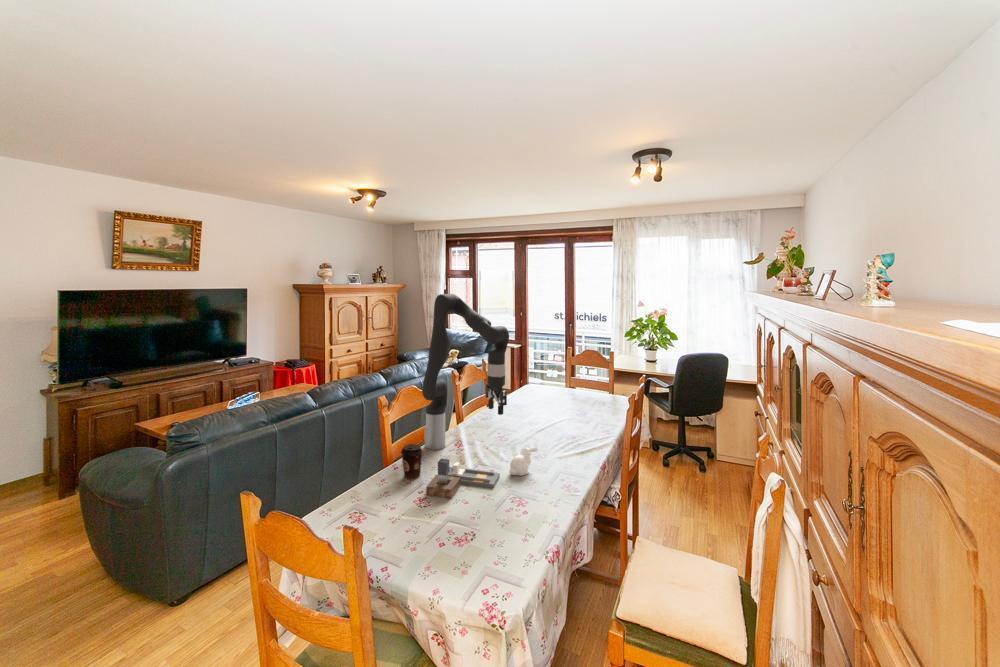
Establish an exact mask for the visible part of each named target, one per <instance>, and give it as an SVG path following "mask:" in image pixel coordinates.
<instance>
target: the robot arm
mask: <svg viewBox="0 0 1000 667" xmlns="http://www.w3.org/2000/svg"><path fill="white" fill-rule="evenodd" d="M433 306H434V307H433V321H432V322H433V323H432V333H431V340H430V345H429V353H428V360H427V365H426V370H425V374H424V379H423V381H422V387H421V393H422V396H423V398H424V399H425V400H426V401H431V402H430V403H429V404H428V405H426V407H425V423H426V424H425V427H424V429H423V430H424V448H425V449H428V450H433V451H438V450H442V449H444V448H446V408H447V405H448V386H447V382H446V381H445V379H443V378H438V377H439V374H440V372H441V370H442V368H443V367H444V365H445V364H446V362H447V361H448V359H449V355H450V350H451V345H452V344H451V343H452V342H451V338H450V335H449V333H448V330H447V327H446V324H447V315H454V314H455V315H457V316H459V317H462V318H463V320H464V321H465V323H466V325H467V326H468V327H469V328H470V329H471V330H473V331H475V332H476V333H478V334H479V335H480V336H481V338H482V339H483V340H484V341H485V342H486V343H488V344H490V345H494V346H493V347H492V348H490V349H489V350H488V354H487V368H486V369H487V372H486V373H487V374H486V377H487V378H486V384H485V398H487V402H488V404H487V405H488V409H489V410H493V409H494V407H495V405H494V401H495V402H497V415H498V416H503V415H504V406H507V405H508V403H507V402H508V399H507V398H508V397H507V396H508V395H507V394H508V392H507V390H503V387H504V386H505V385H506V352H507V349H508V344H509V339H510V332H509V330H508V327H505V325H498V326H493V325H492V322H491V321H490V320H489V319H488V318H486V317H485V316H483V315H481V314H480V313H478V312H477V311H476V310H474V309H473V308H472V307H471V306H469V305H468V304H467V303H466V302H465V301H464V300H463V299H461V297H459V296H458V295H457V294H454V293H441V294H439V295H437V296H436V298H435V300H434V305H433ZM494 399H495V400H494Z"/></svg>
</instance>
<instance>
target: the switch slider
mask: <svg viewBox="0 0 1000 667" xmlns="http://www.w3.org/2000/svg"><path fill="white" fill-rule="evenodd" d="M452 467H453V473H452V474H456V475H463V474H464V473H465V472H466V469H460V468H461V462H455V463H454V464H453V465H452Z"/></svg>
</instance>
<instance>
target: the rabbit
mask: <svg viewBox="0 0 1000 667" xmlns="http://www.w3.org/2000/svg"><path fill="white" fill-rule="evenodd" d="M537 449H538V447H537V446H536V447H526V446H524V447H523V448H522V449H521V451H520V454H519V455H515V456H514V457H512V459H511V461H510V463H509V467H510V468H509V471H508V472H509V474H510V475H512V476H519V477H522V475H523V476H526V475H529V474H528V473H530V472H529V471H528V470H529V467H530V465H531V463H532V460H531V458H532V457H531V453H537V451H538V450H537ZM525 474H526V475H525Z"/></svg>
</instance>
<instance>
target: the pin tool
mask: <svg viewBox="0 0 1000 667" xmlns="http://www.w3.org/2000/svg"><path fill="white" fill-rule="evenodd" d="M449 467H450V459H447V458H440V459H439V461H437V475H439V484H440V485H448V484H449Z"/></svg>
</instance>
